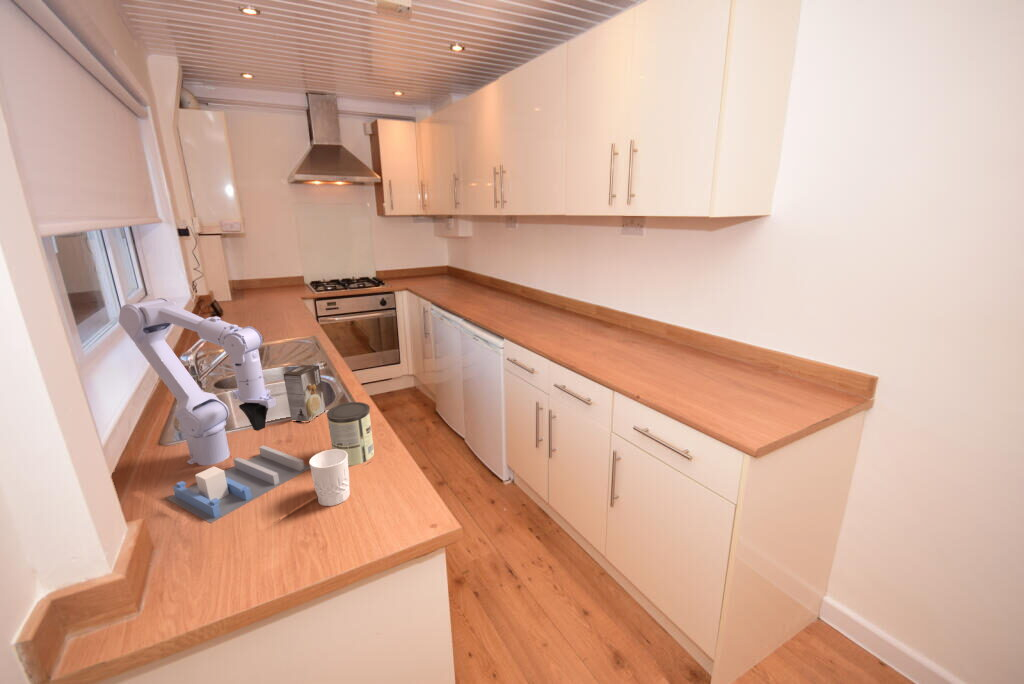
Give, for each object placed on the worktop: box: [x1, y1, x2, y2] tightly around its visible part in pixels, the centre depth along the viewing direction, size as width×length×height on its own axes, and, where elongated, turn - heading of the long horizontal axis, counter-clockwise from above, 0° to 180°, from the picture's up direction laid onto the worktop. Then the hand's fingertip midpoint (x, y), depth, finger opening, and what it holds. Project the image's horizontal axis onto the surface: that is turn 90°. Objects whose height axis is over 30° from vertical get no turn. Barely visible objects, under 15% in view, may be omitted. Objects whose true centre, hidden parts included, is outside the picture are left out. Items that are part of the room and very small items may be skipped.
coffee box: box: [283, 364, 327, 421], centre depth 141 cm, size 9×6×16 cm
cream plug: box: [194, 466, 229, 500], centre depth 99 cm, size 4×4×6 cm
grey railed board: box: [166, 445, 311, 524], centre depth 105 cm, size 18×24×4 cm
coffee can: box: [326, 401, 375, 467], centre depth 115 cm, size 10×10×14 cm
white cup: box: [308, 449, 351, 507], centre depth 99 cm, size 8×8×10 cm
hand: (259, 428), depth 111 cm, fingers closed
